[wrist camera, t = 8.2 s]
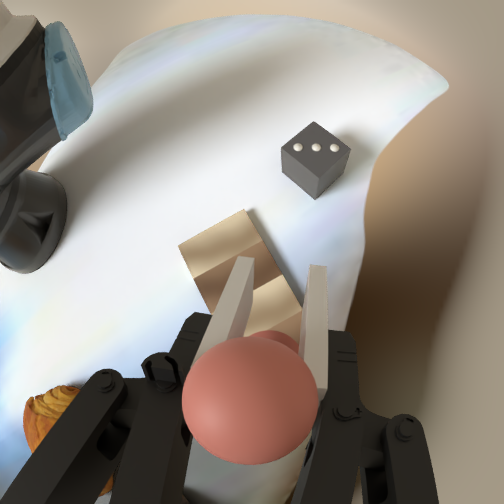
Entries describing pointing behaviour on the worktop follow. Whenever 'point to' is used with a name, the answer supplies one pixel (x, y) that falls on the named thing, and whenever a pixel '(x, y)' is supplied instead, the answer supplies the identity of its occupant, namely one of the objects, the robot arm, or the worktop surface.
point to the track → (265, 274)
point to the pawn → (251, 398)
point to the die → (314, 159)
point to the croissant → (49, 417)
